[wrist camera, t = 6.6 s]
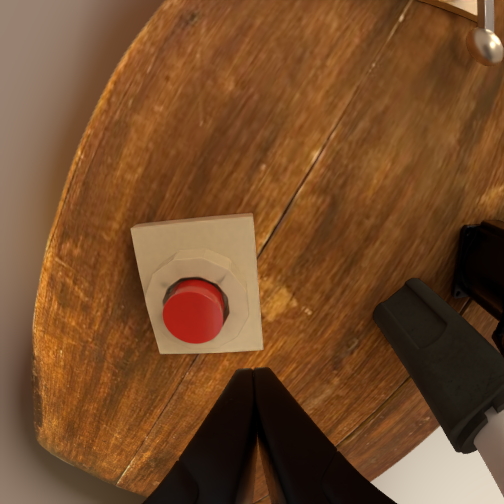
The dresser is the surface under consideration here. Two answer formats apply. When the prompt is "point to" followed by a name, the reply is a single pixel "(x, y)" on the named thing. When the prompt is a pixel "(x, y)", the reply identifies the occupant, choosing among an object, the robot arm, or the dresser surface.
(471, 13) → the tap bracket
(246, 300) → the button block
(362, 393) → the dresser surface
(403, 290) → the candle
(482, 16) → the tap lever
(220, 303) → the button
